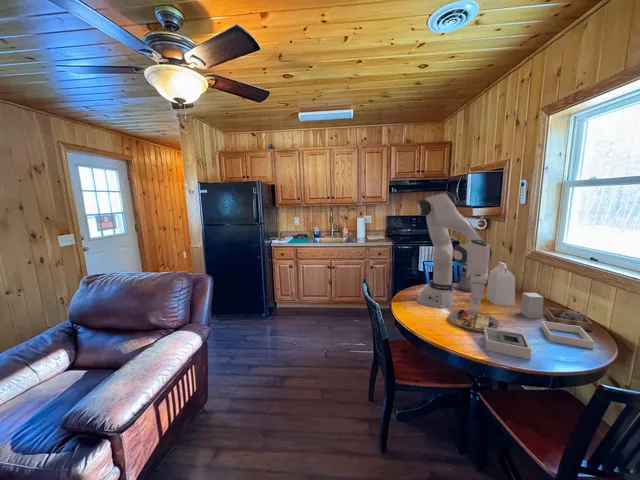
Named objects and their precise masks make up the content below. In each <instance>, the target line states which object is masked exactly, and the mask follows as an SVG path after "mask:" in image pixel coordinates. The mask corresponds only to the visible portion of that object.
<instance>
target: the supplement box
mask: <svg viewBox="0 0 640 480" xmlns="http://www.w3.org/2000/svg"><path fill="white" fill-rule="evenodd" d="M544 299H545V298H544V296H542V295H540V294H538V293H537V292H522V294H521V305H520V313H521V315H523V316H525V317H526V318H528V319H542V318H543V307H544Z"/></svg>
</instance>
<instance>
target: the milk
mask: <svg viewBox="0 0 640 480" xmlns="http://www.w3.org/2000/svg"><path fill="white" fill-rule="evenodd" d="M488 272H489V274H488V279H487V288H486V296H485V298H486V299H487V300H488V301H490V302H491V303H492V304H493V305H494V306H516V305H515V304H516V301H515V300H516V299H515V298H516V276H515V275H514V274H513V273H512V272H511V271H510V270H509V269H508V267H507V263H504V262H502V261H499V262H498V264H497V266H495V267H494V268H493V269H491V270H490V271H488Z"/></svg>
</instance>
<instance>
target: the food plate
mask: <svg viewBox="0 0 640 480" xmlns="http://www.w3.org/2000/svg"><path fill="white" fill-rule="evenodd" d="M447 319H448V320H449V321H450V323H452V324H453V323H454V324H455V325H457V326H459V327H463V328H465V329H469V330H474V331H478V332H484V327H487V328H493V329H498V326H499V323H500V322H499V320H497V319H496V318H495V317H493V316H492V315H490V313H487V312H486V313H484V312H481V311H479V310H474V309H465V308H464V309H456V310H453V311H451V312H450V314H449V315H448V316H447ZM457 319H459V320H461V321H462V324H460V323H459V322H458V321H457ZM472 322H473V327H471V326H472Z"/></svg>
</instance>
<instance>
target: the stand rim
mask: <svg viewBox="0 0 640 480" xmlns="http://www.w3.org/2000/svg"><path fill="white" fill-rule="evenodd" d="M568 311H569V312H577V313H581V314H583V312H581V311H577V310H568V309H562V308H553V307H544V315H545V317H546V318H547V320H548V322H553V323H560V324H567V325H574V326H580V327H581V328H582V329H583V330H584V331H589V332H592V330H593V323H592V322H591V321H590V320H589V319H588V318H587V317H586V316H585V318H584V322H581V321H574V320H567V319H561V318H560V315H561V314H562V313H563V312H568Z"/></svg>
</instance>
